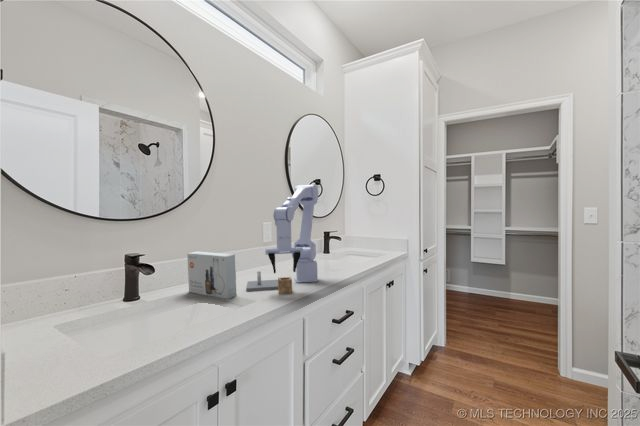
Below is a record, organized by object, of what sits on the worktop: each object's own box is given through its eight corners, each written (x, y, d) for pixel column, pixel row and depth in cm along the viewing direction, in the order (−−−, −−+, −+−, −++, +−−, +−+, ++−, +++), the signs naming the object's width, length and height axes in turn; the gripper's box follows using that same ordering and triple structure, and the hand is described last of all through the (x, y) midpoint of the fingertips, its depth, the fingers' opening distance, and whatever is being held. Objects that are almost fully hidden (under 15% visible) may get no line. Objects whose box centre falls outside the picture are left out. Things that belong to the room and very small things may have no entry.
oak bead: (290, 289, 117) (290, 277, 117) (292, 292, 112) (291, 279, 112) (278, 290, 116) (278, 277, 116) (279, 293, 111) (278, 280, 111)
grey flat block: (289, 281, 131) (288, 266, 131) (291, 288, 119) (291, 271, 119) (247, 284, 127) (247, 268, 127) (246, 291, 115) (245, 274, 115)
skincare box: (187, 292, 115) (186, 252, 115) (198, 289, 120) (198, 251, 120) (226, 299, 106) (225, 255, 105) (237, 295, 110) (236, 253, 110)
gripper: (265, 239, 109) (265, 275, 109) (303, 237, 112) (304, 273, 112) (265, 237, 116) (265, 271, 116) (301, 236, 119) (301, 269, 119)
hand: (284, 272), depth 114 cm, fingers open, 7 cm apart
